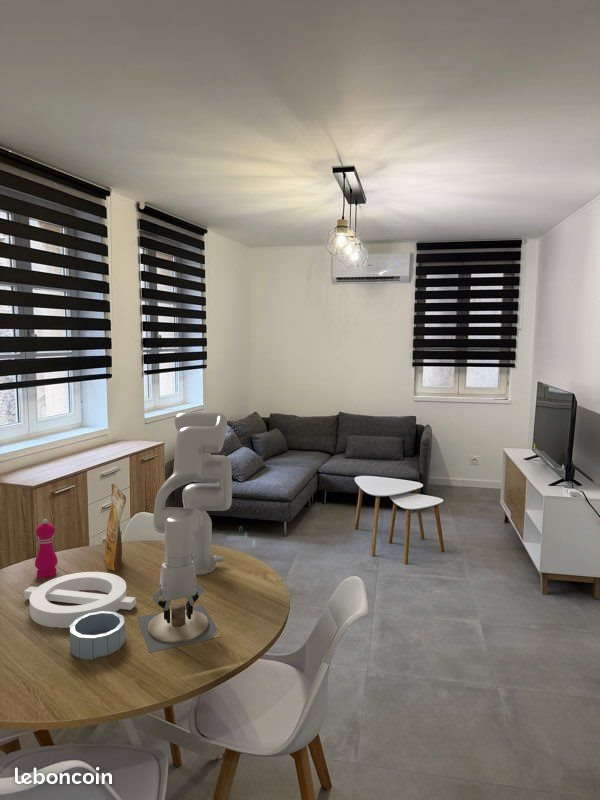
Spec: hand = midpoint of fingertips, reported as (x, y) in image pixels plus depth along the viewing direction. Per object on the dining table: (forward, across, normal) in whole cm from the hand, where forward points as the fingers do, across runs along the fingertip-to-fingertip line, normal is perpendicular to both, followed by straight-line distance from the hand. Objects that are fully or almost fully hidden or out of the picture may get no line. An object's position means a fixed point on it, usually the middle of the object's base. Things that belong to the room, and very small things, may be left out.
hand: (178, 618), depth 160 cm
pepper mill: (+3, +34, -53) cm, 63 cm away
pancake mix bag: (+3, +11, -55) cm, 56 cm away
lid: (+2, 0, 0) cm, 2 cm away
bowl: (+3, +22, 0) cm, 22 cm away
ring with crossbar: (+4, +25, -26) cm, 36 cm away
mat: (+3, 0, 0) cm, 3 cm away
